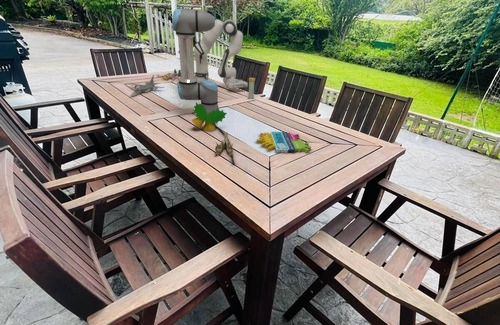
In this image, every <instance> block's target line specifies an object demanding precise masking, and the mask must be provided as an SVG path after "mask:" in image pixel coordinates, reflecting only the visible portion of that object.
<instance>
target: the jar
mask: <svg viewBox="0 0 500 325" xmlns="http://www.w3.org/2000/svg"><path fill="white" fill-rule="evenodd" d="M255 83H256V80H255V81H254V82H251V81H249V80H248V93H247V98H248V99H249V100H253V99H254V97H255Z"/></svg>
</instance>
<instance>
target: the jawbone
mask: <svg viewBox="0 0 500 325" xmlns="http://www.w3.org/2000/svg"><path fill="white" fill-rule="evenodd" d="M228 135H229V133H228V131H226V132H224V135H223V140H222V139H221V142H220V144H218V142H215V144H216V146H215V148H214V149H215V152H214V154H215V155H217V156H218V155H220V153H221V152H223V151H224V150H226V152H227V153H228V155H229V156H231V155H233V156H234V154H233V153H234V148H233V144H234V143H230V144H229V142H230V140H229V138H228V137H229V136H228ZM228 140H229V141H228Z"/></svg>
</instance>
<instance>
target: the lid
mask: <svg viewBox="0 0 500 325" xmlns="http://www.w3.org/2000/svg"><path fill="white" fill-rule="evenodd" d="M249 81H251V82H254V81H255V82H256V78H255V77H249V78H248V82H249Z"/></svg>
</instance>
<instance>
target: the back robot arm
mask: <svg viewBox="0 0 500 325" xmlns="http://www.w3.org/2000/svg"><path fill="white" fill-rule="evenodd" d="M223 32H224V33H225V34H226V35H228V36H230V40H229V45H228V47H227V48H226V49H225V50H224V53H223V56H222V59H221V61H220V65H219V66H218V70H217V74H218V76H219V77H220V78H221V79H222V82H223V84H224V85H225V86H227V88H228V89H233V90H235V89H240V88H248V87H249V82H247V81H245V80H243V79H237V77H238V71H237V69H236V68H235V67H233V66H227V65H228V62H229V60H230V58H231V57H233V56H236V55H238V54H240V53H241V51H242V48H243V41H244V33H243V32H242V31H241V30H239V29H237V24H236V22H235V20H233V19H232V18H228V19H225V20H223V21H222V20H221V19H215V27H213V28H212V29H211V30H209V31H206V32H204V34H203V35H202V38H201V40H200V41H199V42H200V45H201V47H202V49H203V51H204V54H203V55H202V59H201V64H200V55H201V54H200V53H199V52H198V51H197V49H196V48H195V47H193V53H194V62H195V72H194V76H195V78H196V79H197V83H200V81H201V80H208V81H210V80H209V78H210V77H209V62H208V54H209V53H210V52H211V50H212V48H213V46H214V45H215V43H216V42H217V40H219V37H220V36H221V34H222V33H223ZM196 47H197V48H198V49H199V50H200V52H201V53H202V51H201V49H200V47H199V45H198V44H196ZM178 77H179V78H181V75H179V76H178Z"/></svg>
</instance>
